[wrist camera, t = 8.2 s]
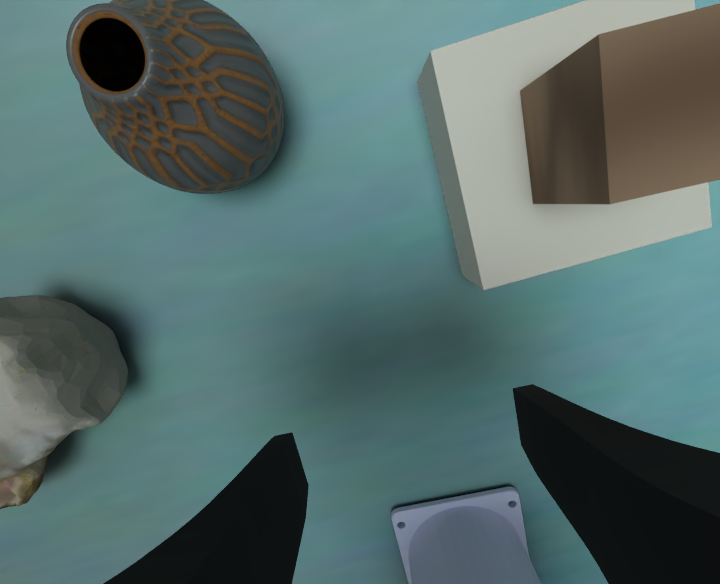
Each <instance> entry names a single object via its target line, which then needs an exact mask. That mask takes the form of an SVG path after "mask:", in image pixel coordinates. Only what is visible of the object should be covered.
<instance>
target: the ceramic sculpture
mask: <svg viewBox="0 0 720 584" xmlns="http://www.w3.org/2000/svg"><path fill="white" fill-rule="evenodd" d="M127 376H128V369H127V365H126V362H125V360H124V358H123V355H122V353H121V351H120V348H119V344H118V341H117V339H116V336H115V334H114V332H113V331H112V330H111V329H110V328H109V327H108V326H106V325H105V324H104V323H102V322H101V321H99V320H97V319H96V318H94V317H92V316H90V315H89V314H88V313H86V312H85V311H84V310H82V309H81V308H80V307H78V306H76V305H75V304H73V303H70V302H66V301H63V300H60V299H57V298H53V297H47V296H19V297H4V298H0V509H2V508H5V507H9V506H10V507H11V506H17V505H18V506H20V505H22V504H25V503H27V502H28V501H29V500H30V498H31V497H32V496H33V494H34V493H35V492H36V491H37V490H38V488H39V487H40V485H41V483H42V480H43V477H44V473H45V471H46V467H47V462H48V455H49V454H50V453H51V452H52V451H53V450H54V449H55V448H56V446H57V445H58V444H59V443H60V442H61V441H62V440H63V439H64V438H66V437H67V436H68V435H69V434H70V433H72V432H73V431H75V430H77V429H85V428H88V427H91V426H95V425H98V424H100V423H102V422H103V421H104V420H105V419H106V418H107V417H108V416H109V415H110V414H111V412H112V411H113V409H114V408H115V407H116V405H117V404H118V402H119V401H120V399H121V397H122V395H123V393H124V390H125V388H126V385H127Z"/></svg>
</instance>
